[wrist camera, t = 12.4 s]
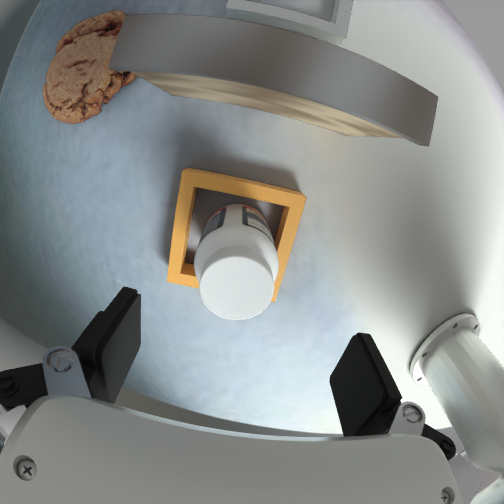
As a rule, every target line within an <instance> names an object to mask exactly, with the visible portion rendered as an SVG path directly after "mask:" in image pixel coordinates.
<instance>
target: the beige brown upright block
mask: <svg viewBox="0 0 504 504" xmlns="http://www.w3.org/2000/svg"><path fill="white" fill-rule="evenodd" d="M108 68H110V69H112V70H114V71H130V72H132V73H133V74H135V75H137V76H139V77H141V78H143V79H144V80H146V81H148V82H150V83H152V84H153V85H155V86H157V87H159V88H160V89H162V90H164V91H165V92H167V93H169V94H171V95H175V96H183V97H191V98H198V99H205V100H211V101H217V102H223V103H228V104H234V105H239V106H244V107H248V108H253V109H257V110H262V111H266V112H270V113H274V114H278V115H282V116H286V117H289V118H293V119H297V120H300V121H304V122H307V123H310V124H314V125H317V126H320V127H323V128H326V129H329V130H332V131H335V132H338V133H341V134H344V135H347V136H376V137H395V138H406V139H408V140H410V141H412V142H414V143H416V144H418V145H421V146H429V142H430V138H431V133H432V129H433V124H434V118H435V113H436V107H437V101H438V96H436V95H435V94H433V93H431V92H430V91H428V90H427V89H425V88H423V87H422V86H420V85H418V84H416V83H415V82H413V81H411V80H409V79H408V78H406V77H404V76H402V75H400V74H398V73H397V72H395V71H393V70H391V69H389V68H387V67H385V66H383V65H381V64H378V63H376V62H374V61H372V60H370V59H368V58H365V57H363V56H361V55H358V54H356V53H354V52H351V51H349V50H346V49H344V48H341V47H338V46H336V45H333V44H330V43H327V42H324V41H321V40H318V39H315V38H312V37H309V36H306V35H302V34H299V33H295V32H292V31H288V30H284V29H280V28H276V27H271V26H267V25H262V24H257V23H252V22H246V21H241V20H234V19H227V18H219V17H210V16H199V15H183V14H140V15H126V16H125V18H124V21H123V23H122V26H121V29H120V31H119V34H118V37H117V40H116V43H115V46H114V49H113V52H112V55H111V59H110V62H109V66H108Z"/></svg>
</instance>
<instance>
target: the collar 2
mask: <svg viewBox="0 0 504 504" xmlns="http://www.w3.org/2000/svg"><path fill="white" fill-rule="evenodd" d="M197 187H198V188H204V189H209V190H214V191H219V192H224V193H229V194H234V195H238V196H243V197H248V198H252V199H257V200H261V201H266V202H270V203H274V204H279V205H283V206H284V209H283V213H282V217H281V220H280V224H279V227H278V231H277V235H276V238H275V242H274V245H275V248H276V251H277V255H278V260H279V269H278V274H277V277H276V280H275V282H274V293H273V297H272V299H271V302H275V300H276V296H277V293H278V290H279V287H280V284H281V281H282V278H283V275H284V271H285V268H286V265H287V262H288V258H289V255H290V252H291V249H292V245H293V242H294V239H295V235H296V232H297V229H298V225H299V222H300V218H301V215H302V212H303V208H304V205H305V201H306V198H307V197H306V196H305V195H304V194H302V193H301V192H299V191H295V190H291V189H287V188H283V187H279V186H274V185H270V184H266V183H262V182H257V181H253V180H248V179H244V178H239V177H234V176H229V175H224V174H219V173H214V172H209V171H204V170H198V169H193V168H186V169H184V170H183V171H182V176H181V182H180V188H179V194H178V200H177V206H176V213H175V220H174V227H173V234H172V242H171V250H170V259H169V268H168V278H167V282H171V283H175V284H180V285H185V286H190V287H195V288H199V282H198V280H197V277H196V274H195V269H194V265H193V264H188V263H185V257H186V250H187V244H188V237H189V231H190V225H191V219H192V213H193V207H194V201H195V196H196V190H197Z"/></svg>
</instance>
